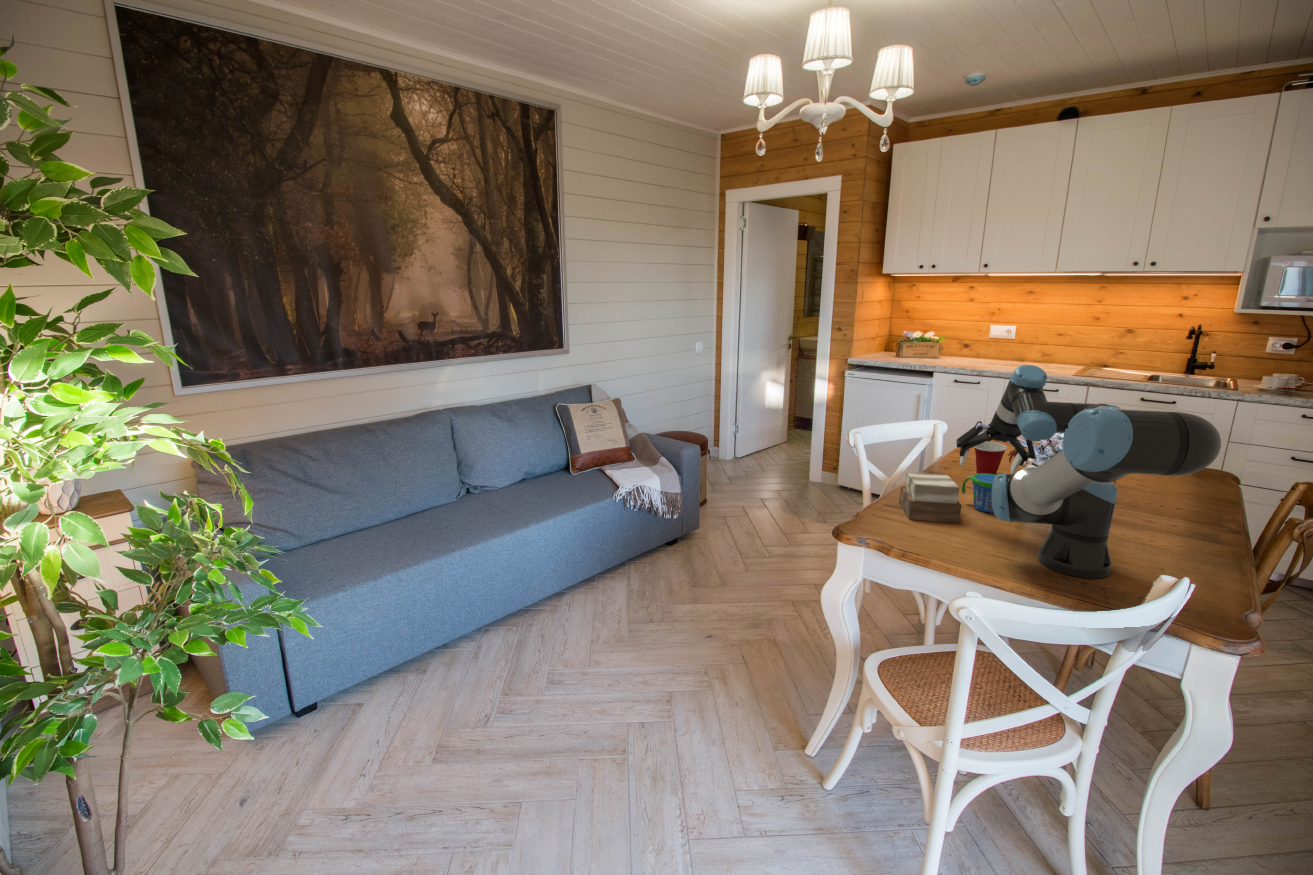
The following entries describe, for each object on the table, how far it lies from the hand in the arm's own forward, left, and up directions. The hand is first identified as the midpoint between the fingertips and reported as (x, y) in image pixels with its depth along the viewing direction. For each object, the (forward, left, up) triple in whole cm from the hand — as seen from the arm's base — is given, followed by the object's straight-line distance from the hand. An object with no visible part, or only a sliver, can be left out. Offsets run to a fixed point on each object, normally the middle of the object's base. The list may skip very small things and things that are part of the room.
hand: (986, 466), depth 181 cm
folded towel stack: (+2, +14, -16) cm, 21 cm away
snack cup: (+9, -5, -16) cm, 19 cm away
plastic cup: (+45, -16, -16) cm, 50 cm away
